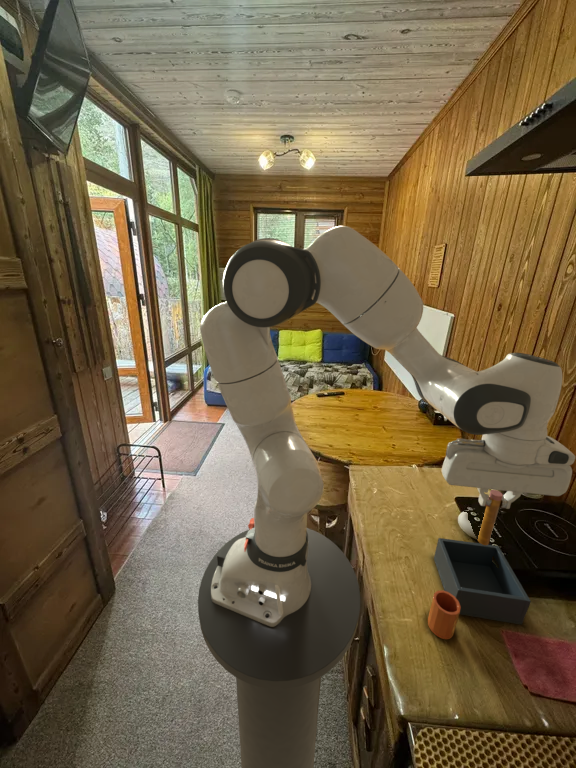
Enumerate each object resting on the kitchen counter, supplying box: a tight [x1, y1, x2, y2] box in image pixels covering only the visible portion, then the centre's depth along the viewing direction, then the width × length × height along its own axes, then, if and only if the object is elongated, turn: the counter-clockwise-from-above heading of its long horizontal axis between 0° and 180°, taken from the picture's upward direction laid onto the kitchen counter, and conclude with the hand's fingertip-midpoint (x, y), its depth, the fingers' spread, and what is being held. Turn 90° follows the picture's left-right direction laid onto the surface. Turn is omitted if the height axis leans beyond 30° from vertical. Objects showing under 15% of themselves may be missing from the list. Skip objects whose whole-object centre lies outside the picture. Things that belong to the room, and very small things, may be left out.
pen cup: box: [427, 589, 461, 640], centre depth 62 cm, size 5×5×7 cm
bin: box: [433, 537, 531, 626], centre depth 69 cm, size 14×14×7 cm
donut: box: [457, 511, 477, 540], centre depth 87 cm, size 10×4×10 cm
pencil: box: [476, 489, 504, 545], centre depth 61 cm, size 2×2×12 cm
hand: (493, 505), depth 60 cm, fingers closed on pencil, 2 cm apart
